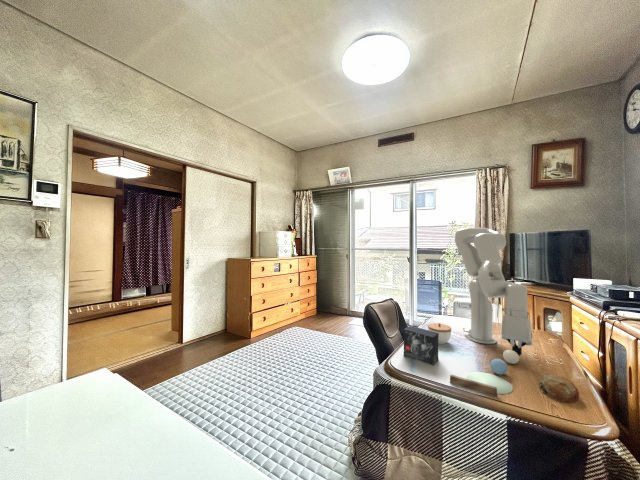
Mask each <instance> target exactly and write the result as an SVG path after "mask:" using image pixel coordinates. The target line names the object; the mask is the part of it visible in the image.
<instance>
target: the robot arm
mask: <svg viewBox="0 0 640 480" xmlns="http://www.w3.org/2000/svg"><path fill="white" fill-rule="evenodd" d="M454 243H455V245H456V248H457V250H458V252H459V253H460V256H461V257H462V258H461V259H462V261H463V265H464V268H465V270H466V272H467V274H468V276H469V277H472V278H474V279H471V280H470V281H469V284H468V290H469V296H470V327H467V326H463V327H462V330H463V332H465V333H468V334H467V338H468V340H470V341H472V342H475V343H480V344H484V345H493V344H496V343H497V339H496V338H495V337H494V336H493V329H494V327H493V323H494V322H493V318H494V317H493V313H494V312H493V311H494V309H493V304H492V302H491V301H490V299H491V298H493V299H499V298H500V299H501V298H502V299H505V307H502V308H501V311H502V312H504V314H502V315H503V316H502V320H501V321H502V322H501V339H503V340H505V341H507V342H508V343H509V344H510V346H511V350H513V351H515V352H516V353H517V354H518V355H519V357H520V356H522V355H523V354H522V353H523V352H522V351H523V350H522V348H523V347H525V346H533V330H532V323H531V319H530V317H528V287H527V286H526V285H524V284H520V283H516V282H513V281H506V279H505V276H504V274H503V271H502V269H501V267H500V265H499V264H500V263H501V262H502V260H503V259H502V256H501V254H500V252H499V250H502V249H504V248H505V247H506V246H507V239H506V237H505V236H504V234H502V233H500V232H498V231H496V230H494V229H491V228H487V227H462V228H459V229H458V230H457V231H456V232H455V235H454ZM473 244H474V245H473ZM489 298H490V299H489ZM516 342H517V343H516Z"/></svg>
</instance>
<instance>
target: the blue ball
mask: <svg viewBox="0 0 640 480" xmlns="http://www.w3.org/2000/svg"><path fill="white" fill-rule="evenodd" d="M490 369H491V370H492V372H493V373H495V374H496V375H505V374H507V372H508V365H507V362H506V361H505V360H502V359H501V358H494V359H492V360H491V361H490Z"/></svg>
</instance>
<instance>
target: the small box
mask: <svg viewBox="0 0 640 480" xmlns="http://www.w3.org/2000/svg"><path fill="white" fill-rule="evenodd" d="M438 335H439V333H437V332H433V331H429V330H428V329H425V328H421V327H417V326H413V325H409V326H407V327H406V328H404V329H403V356H404V357H408V358H410V359H413V360H416V361H419V362H421V363H425V364H428V365H431V366H434V365H435V364H436V363H437V362H438V361H439V344H438Z"/></svg>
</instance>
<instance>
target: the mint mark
mask: <svg viewBox="0 0 640 480" xmlns="http://www.w3.org/2000/svg"><path fill="white" fill-rule="evenodd" d="M466 379H469V380H472V381H476V382H479V383H483V384H486V385H490V386H493V387H497V395H506V394H508V395H509V394H511V393H513V389H514V388H513V385H512V384H511V383H510V382H508V381H507V380H506V379H504V378H502V377H500V376H497V375H495V374H492V373H488V372H483V371H482V372H481V371H473V372H469V373H468V374H467V375H466Z"/></svg>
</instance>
